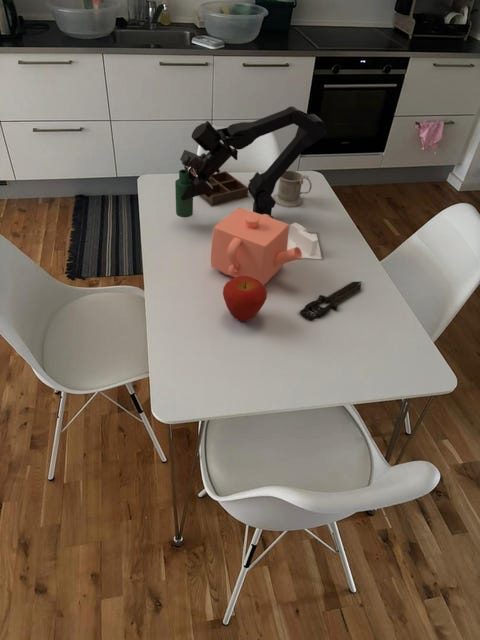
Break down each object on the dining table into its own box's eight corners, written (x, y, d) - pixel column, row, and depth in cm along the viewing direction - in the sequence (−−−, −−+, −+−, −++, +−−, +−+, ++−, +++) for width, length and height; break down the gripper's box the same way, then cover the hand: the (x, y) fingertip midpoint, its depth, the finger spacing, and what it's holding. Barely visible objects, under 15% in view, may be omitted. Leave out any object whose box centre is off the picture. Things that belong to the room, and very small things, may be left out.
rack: (247, 196, 186) (248, 187, 184) (212, 206, 179) (212, 196, 177) (225, 179, 195) (225, 171, 193) (190, 188, 188) (190, 179, 186)
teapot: (311, 270, 153) (321, 218, 142) (277, 309, 138) (285, 255, 127) (241, 243, 162) (244, 192, 150) (202, 277, 147) (203, 224, 135)
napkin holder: (322, 258, 158) (325, 243, 155) (286, 257, 158) (289, 241, 154) (316, 233, 170) (319, 218, 166) (283, 231, 169) (285, 216, 165)
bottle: (195, 215, 164) (196, 173, 155) (181, 219, 162) (180, 176, 152) (187, 207, 168) (187, 166, 158) (173, 211, 165) (172, 169, 156)
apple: (271, 316, 136) (276, 281, 128) (246, 336, 129) (249, 300, 121) (239, 298, 141) (242, 263, 133) (213, 317, 134) (215, 280, 126)
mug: (269, 198, 186) (272, 167, 178) (287, 191, 191) (291, 161, 183) (297, 214, 179) (302, 183, 171) (316, 206, 184) (321, 176, 176)
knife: (357, 281, 151) (358, 277, 150) (373, 292, 147) (374, 288, 146) (294, 309, 139) (295, 306, 138) (310, 323, 135) (311, 319, 134)
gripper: (189, 130, 157) (156, 166, 161) (204, 155, 144) (166, 194, 148) (213, 153, 164) (180, 187, 169) (229, 179, 151) (193, 215, 155)
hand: (179, 195), depth 160 cm, fingers closed on bottle, 5 cm apart
